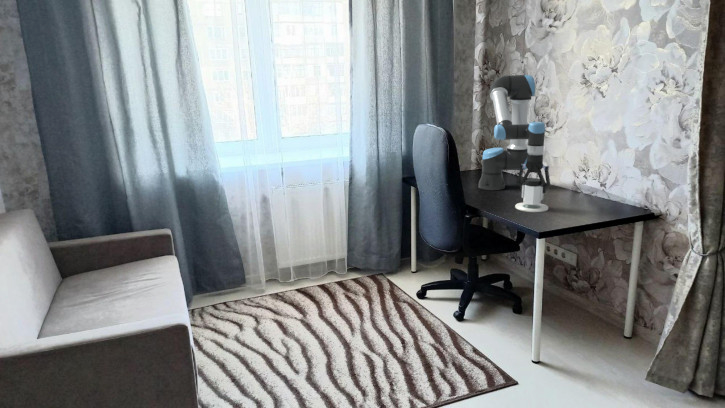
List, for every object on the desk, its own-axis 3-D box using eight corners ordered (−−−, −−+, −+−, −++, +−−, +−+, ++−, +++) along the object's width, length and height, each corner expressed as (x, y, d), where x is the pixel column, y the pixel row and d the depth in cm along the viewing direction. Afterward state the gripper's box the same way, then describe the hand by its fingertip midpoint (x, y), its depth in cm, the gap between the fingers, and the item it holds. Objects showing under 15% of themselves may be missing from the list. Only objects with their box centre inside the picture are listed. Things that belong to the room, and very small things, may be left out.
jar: (541, 205, 245) (543, 181, 242) (524, 204, 246) (525, 181, 243) (539, 200, 253) (540, 177, 250) (522, 200, 255) (523, 177, 252)
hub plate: (509, 205, 257) (509, 203, 256) (537, 202, 259) (537, 201, 259) (525, 213, 241) (525, 211, 241) (554, 210, 244) (554, 209, 244)
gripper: (511, 153, 246) (508, 197, 252) (555, 156, 234) (552, 202, 240) (515, 151, 252) (513, 194, 258) (559, 154, 240) (556, 198, 246)
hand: (532, 198), depth 249 cm, fingers closed on jar, 9 cm apart
